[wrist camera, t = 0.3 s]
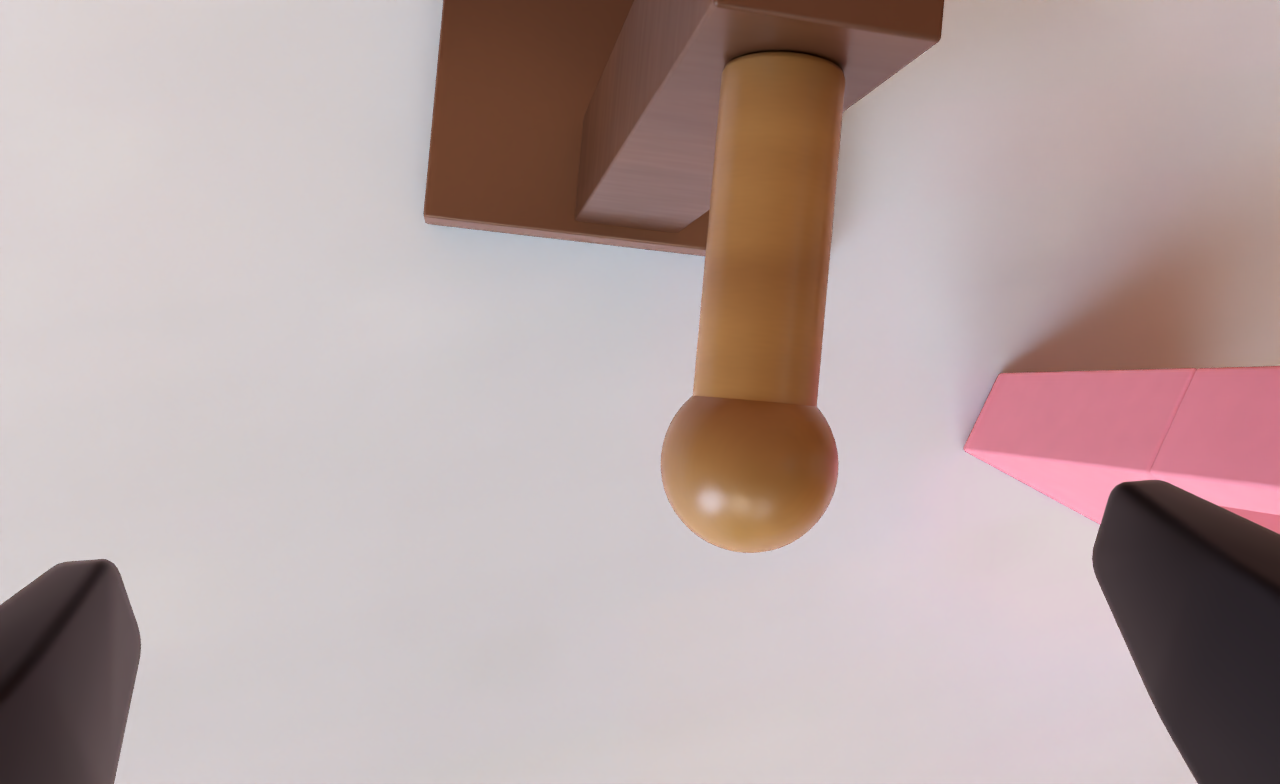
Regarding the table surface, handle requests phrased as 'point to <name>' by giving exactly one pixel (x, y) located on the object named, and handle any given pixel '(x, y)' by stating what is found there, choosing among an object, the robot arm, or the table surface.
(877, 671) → the table surface
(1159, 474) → the pink tunnel block
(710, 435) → the stand
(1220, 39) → the table surface
